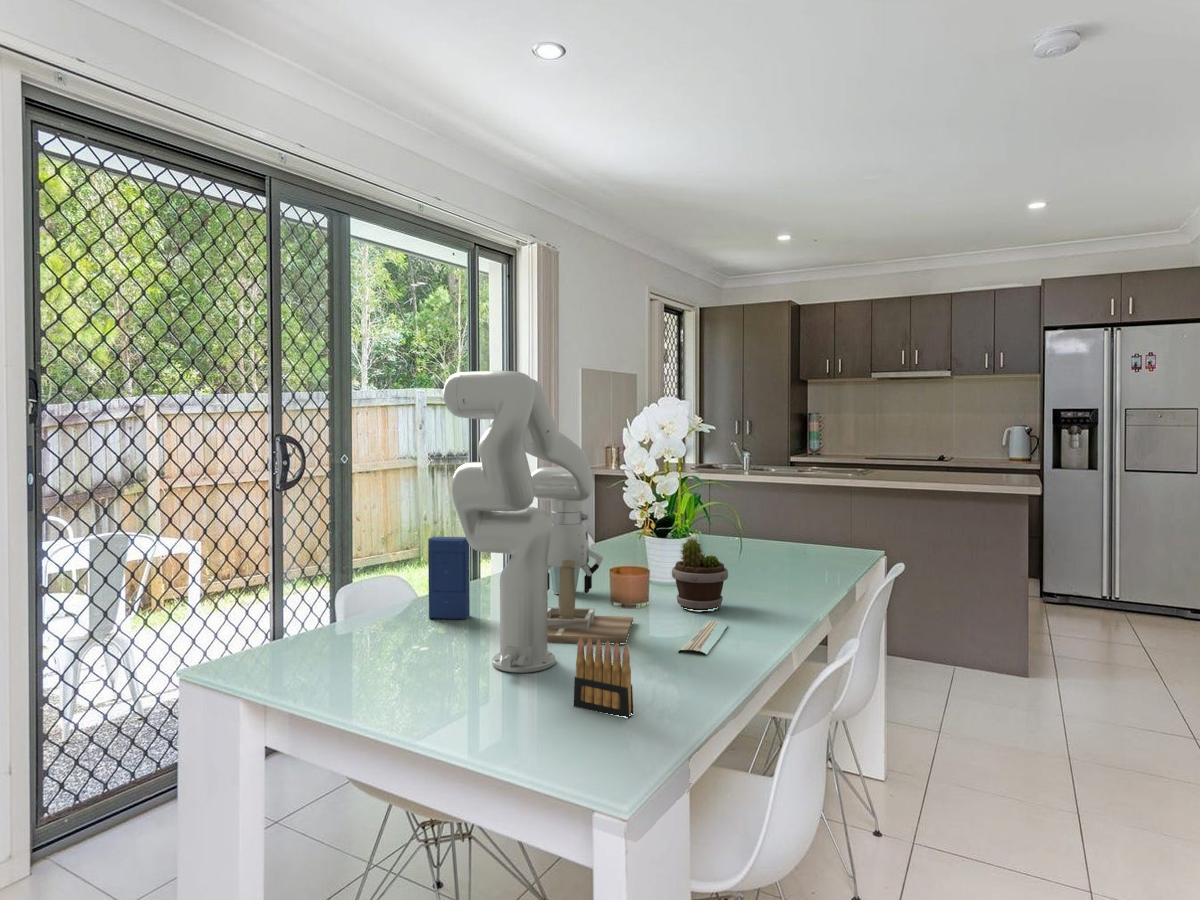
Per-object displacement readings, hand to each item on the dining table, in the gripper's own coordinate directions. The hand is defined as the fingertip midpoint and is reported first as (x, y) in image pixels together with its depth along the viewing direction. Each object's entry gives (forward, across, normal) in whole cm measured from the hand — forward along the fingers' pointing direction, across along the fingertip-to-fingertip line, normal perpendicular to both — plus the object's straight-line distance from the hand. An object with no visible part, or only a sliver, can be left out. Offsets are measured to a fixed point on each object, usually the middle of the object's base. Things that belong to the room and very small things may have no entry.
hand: (566, 591), depth 171 cm
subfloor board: (+9, -4, +2) cm, 10 cm away
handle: (+7, 0, 0) cm, 8 cm away
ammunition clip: (+9, -15, +48) cm, 51 cm away
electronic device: (+9, +31, -6) cm, 33 cm away
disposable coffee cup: (+9, +7, -36) cm, 38 cm away
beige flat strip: (+10, -32, +4) cm, 33 cm away
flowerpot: (+9, -31, -24) cm, 40 cm away
